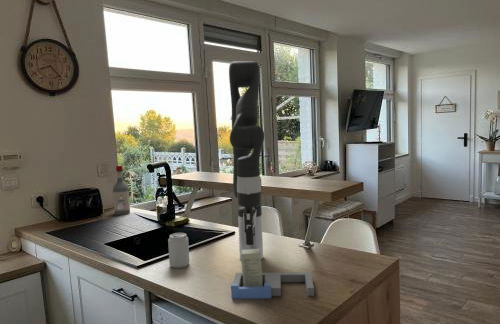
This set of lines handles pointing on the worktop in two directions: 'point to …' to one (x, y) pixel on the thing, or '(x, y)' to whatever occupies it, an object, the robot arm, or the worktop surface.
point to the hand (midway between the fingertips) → (250, 240)
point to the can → (178, 250)
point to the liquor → (121, 194)
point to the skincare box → (251, 268)
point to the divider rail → (270, 285)
